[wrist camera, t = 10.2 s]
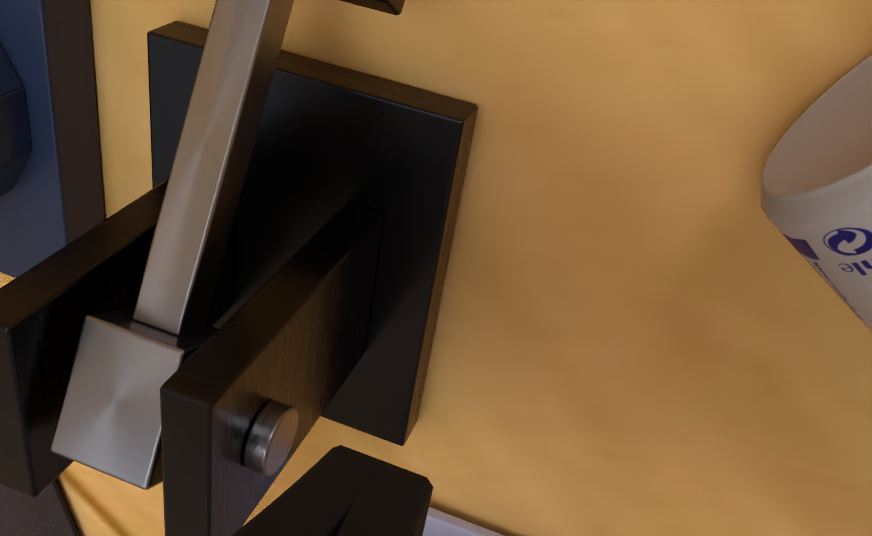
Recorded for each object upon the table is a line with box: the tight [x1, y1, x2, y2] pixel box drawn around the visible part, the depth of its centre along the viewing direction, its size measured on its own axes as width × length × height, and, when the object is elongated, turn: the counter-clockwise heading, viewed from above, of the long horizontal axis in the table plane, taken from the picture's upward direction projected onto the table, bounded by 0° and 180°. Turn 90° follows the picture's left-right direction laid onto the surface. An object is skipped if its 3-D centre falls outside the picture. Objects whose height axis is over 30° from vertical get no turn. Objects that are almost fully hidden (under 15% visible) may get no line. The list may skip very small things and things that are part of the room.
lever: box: [50, 0, 405, 489], centre depth 16 cm, size 11×6×2 cm, turn 170°
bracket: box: [0, 21, 478, 536], centre depth 19 cm, size 10×8×9 cm
